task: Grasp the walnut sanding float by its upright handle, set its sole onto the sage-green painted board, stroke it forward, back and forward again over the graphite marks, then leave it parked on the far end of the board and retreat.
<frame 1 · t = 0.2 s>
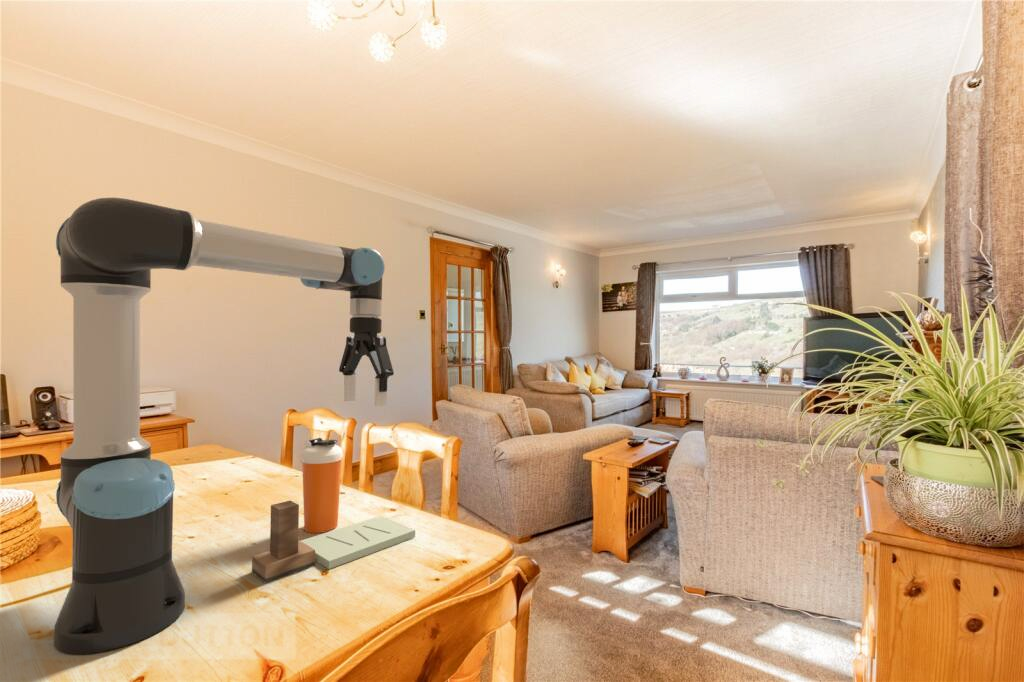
hand: (364, 403, 117), 28 cm above the table, fingers open, 13 cm apart
shaker bottle: (321, 528, 109), on the table
board: (358, 542, 100), on the table
float: (283, 569, 89), on the table
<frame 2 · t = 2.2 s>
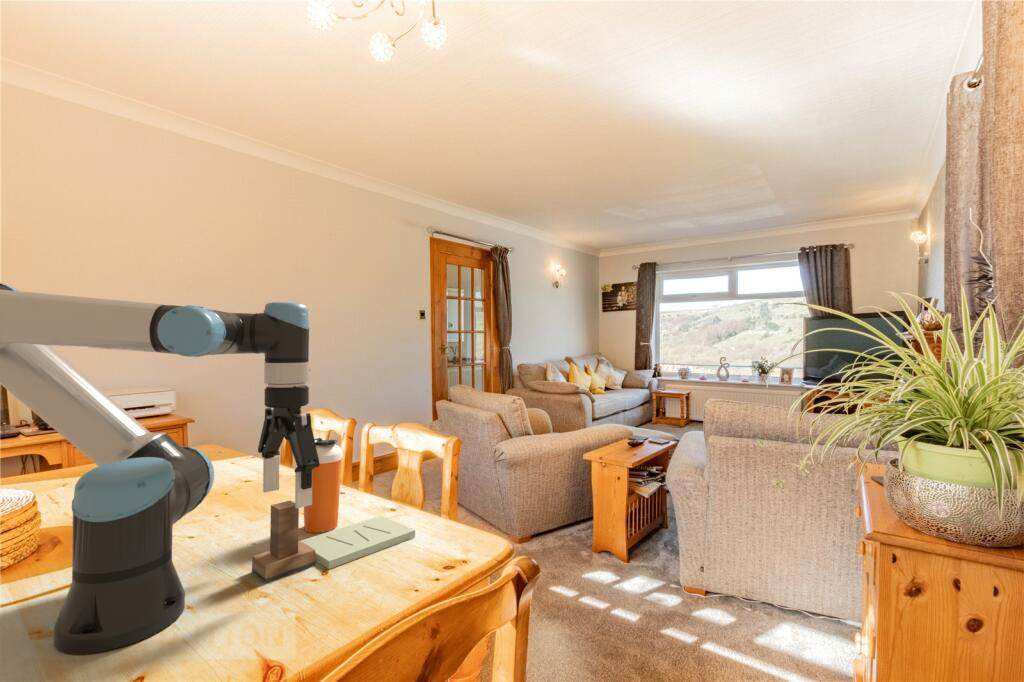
hand: (286, 498, 89), 13 cm above the table, fingers open, 13 cm apart
nothing on the table moved.
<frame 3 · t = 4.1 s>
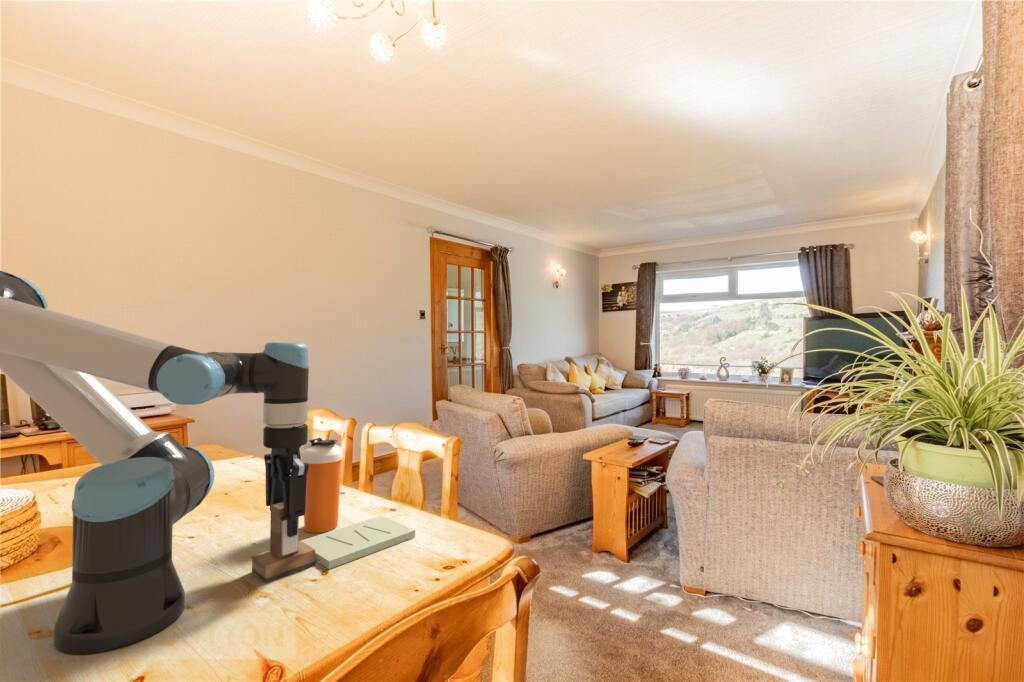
hand: (284, 548, 89), 4 cm above the table, fingers closed on float, 4 cm apart
float: (283, 568, 89), on the table, touching gripper
everything else where it was.
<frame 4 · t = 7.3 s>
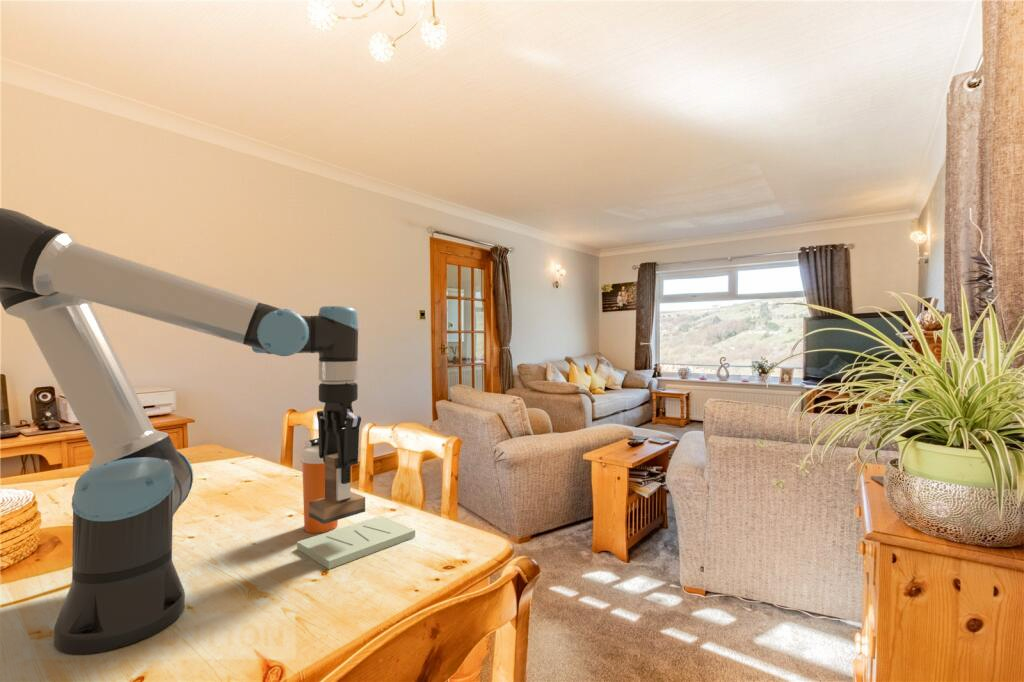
hand: (337, 496, 97), 11 cm above the table, fingers closed on float, 4 cm apart
float: (337, 514, 97), point 7 cm above the table, touching gripper
everything else where it was.
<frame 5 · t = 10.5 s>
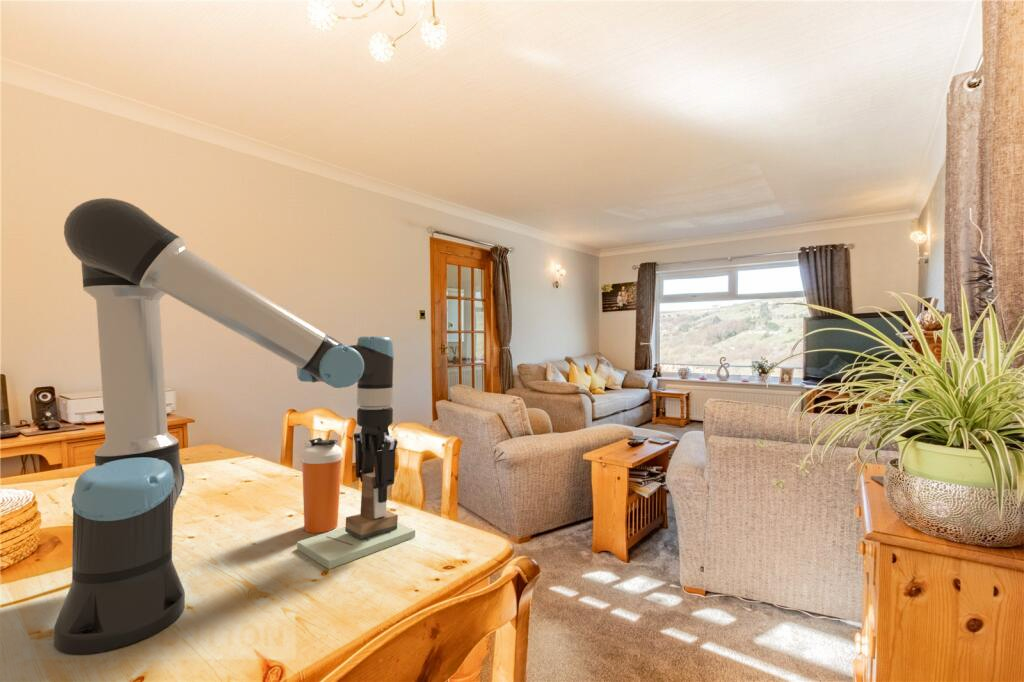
hand: (374, 513, 103), 5 cm above the table, fingers closed on float, 4 cm apart
float: (371, 530, 103), point 2 cm above the table, touching gripper
everything else where it was.
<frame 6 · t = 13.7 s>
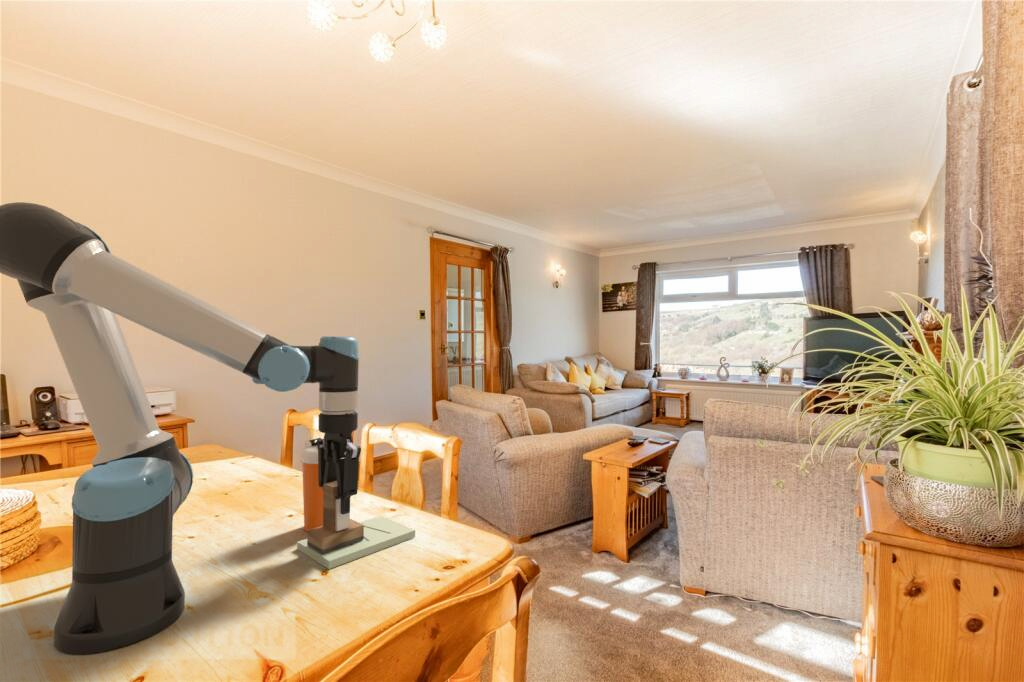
hand: (336, 525, 97), 5 cm above the table, fingers closed on float, 4 cm apart
float: (335, 542, 97), point 2 cm above the table, touching gripper
everything else where it was.
when the fingers open (5 cm above the table, at t = 16.8 s): float stays where it is, resting on board.
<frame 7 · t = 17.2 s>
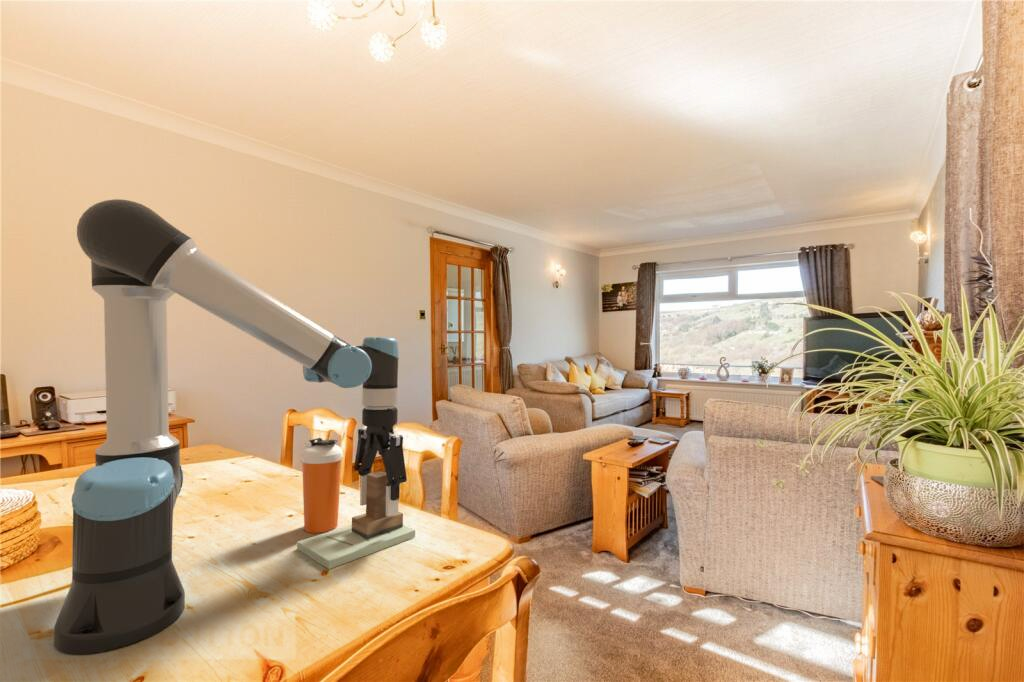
hand: (378, 508, 104), 6 cm above the table, fingers open, 9 cm apart
float: (377, 529, 104), point 2 cm above the table, touching board
everything else where it was.
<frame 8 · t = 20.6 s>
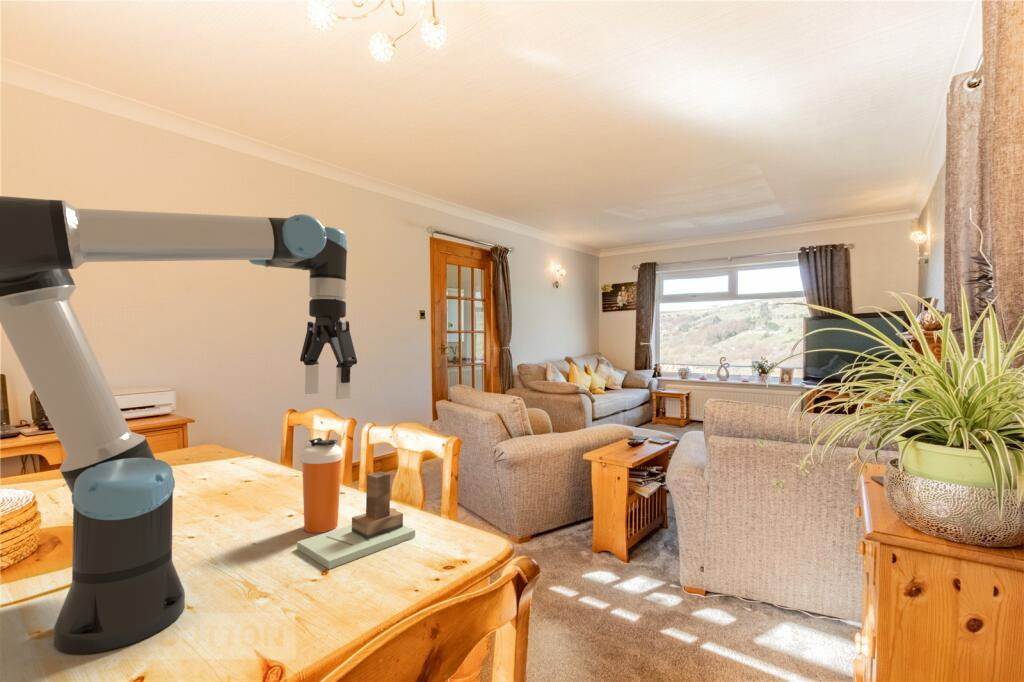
hand: (326, 396, 104), 31 cm above the table, fingers open, 13 cm apart
nothing on the table moved.
at the end: float inside the target area on the board (3.8 cm from its centre), point 1.5 cm above the board's base; float tilted 0°; the gripper is holding nothing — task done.
